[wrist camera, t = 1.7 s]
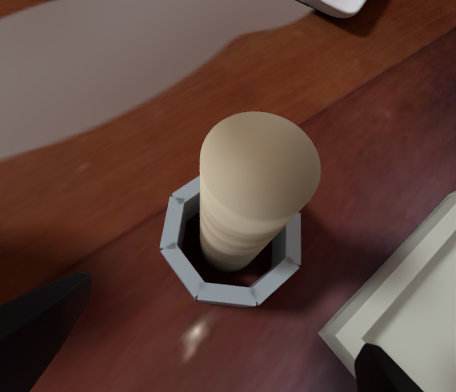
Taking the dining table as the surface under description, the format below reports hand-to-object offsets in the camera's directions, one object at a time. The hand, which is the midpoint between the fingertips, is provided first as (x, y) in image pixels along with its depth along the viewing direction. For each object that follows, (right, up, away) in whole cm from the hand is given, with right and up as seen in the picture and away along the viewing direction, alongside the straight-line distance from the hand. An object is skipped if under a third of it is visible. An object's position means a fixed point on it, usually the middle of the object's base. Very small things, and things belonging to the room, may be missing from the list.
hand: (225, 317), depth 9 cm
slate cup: (0, 0, +13) cm, 13 cm away
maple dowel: (0, 0, +13) cm, 13 cm away
